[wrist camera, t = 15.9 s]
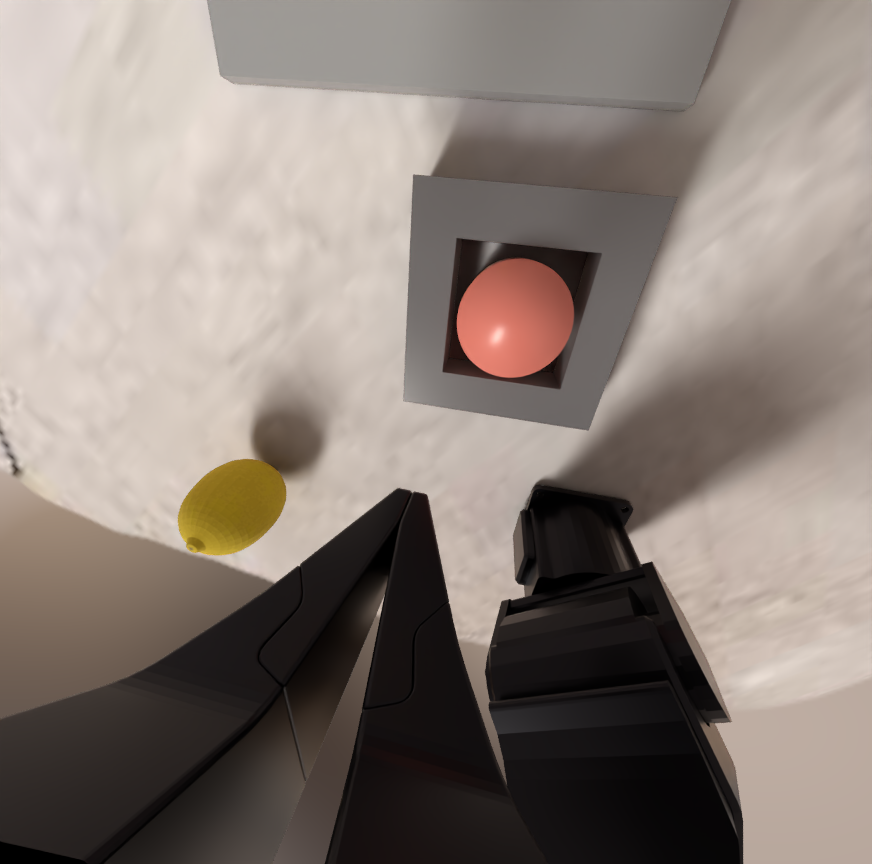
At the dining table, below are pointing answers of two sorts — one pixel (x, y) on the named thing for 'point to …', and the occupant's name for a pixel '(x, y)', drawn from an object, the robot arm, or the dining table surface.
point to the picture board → (475, 48)
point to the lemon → (231, 507)
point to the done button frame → (539, 227)
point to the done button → (515, 317)
